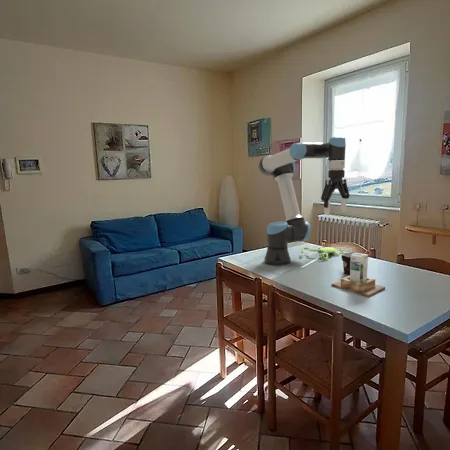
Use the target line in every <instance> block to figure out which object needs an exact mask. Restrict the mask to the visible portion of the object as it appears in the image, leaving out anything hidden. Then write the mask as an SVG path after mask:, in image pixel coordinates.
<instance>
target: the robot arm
mask: <svg viewBox="0 0 450 450" xmlns="http://www.w3.org/2000/svg"><path fill="white" fill-rule="evenodd" d="M328 139H329V140H328V142H294V143H292V144H291V145H290V147H289V148H287V149H284V150H282V151H280V152H277V153H274V154H273V155H271V154H270V155H266V156H264V157H261V158H260V159H259V161H258V166H257V167H258V170H259V172H260V173H261V174H262V175H265V176H271V177H273V178H274V181H276V182H277V185H278V189H279V193H280V198H281V202H282V206H283V211H284V215H285V221H284V220H281V221H280V220H279V221H273V222H270V223H268V225H267V228H266V229H267V230H266V233H267V237H266V239H267V241H266V242H267V243H266V244H267V247H266V248H267V249H266V252H265V255H264V263H265V264H268V265H271V266H286V265H289V264H290V263H291V262H292V261H291V256H290V252H289V250H288V249H289V248H288V247H289V246H288V245H289V244H291V243H301V242H304V241H307V240H308V239H309V238H310V235H311V233H312V232H311V230H312V229H311V224H310V223H309V222H308V221H306V220H305V217H304V216H302V215H301V212H300V207H299V204H298V200H297V195H296V192H295V191H296V190H295V187H294V184H293V183H294V182H293V176H294V173H295V171H296V169H295V168H296V163H295V162H298V161H300V160H303V159H325V158H326V159H328V175H327V176H328V178H329V179H325V183H324V184H325V185H324V187H323V191H322V195H321V196H320V199H321V201H323V208H324V209H323V214H324V215H330V214H331V200H330V199H331V197H332V195H333V193H334V192H335V190H338V192H339V194H340V196H341V198H340V212H347V199H349V198H350V193H349V187H348V184H347V179H346V178H345V171H346V170H345V165H346V147H347V145H346V137H345V136H332V137H329V138H328Z"/></svg>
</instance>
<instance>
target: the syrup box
mask: <svg viewBox="0 0 450 450" xmlns="http://www.w3.org/2000/svg"><path fill="white" fill-rule="evenodd" d="M352 253H353V254H352V255H351V262H350V275H349V276H350V280H352V281H355V282H359V283H363V282H365V281H367V277H368V262H369V254H366V253H359V252H352Z"/></svg>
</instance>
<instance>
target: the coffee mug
mask: <svg viewBox="0 0 450 450" xmlns="http://www.w3.org/2000/svg"><path fill="white" fill-rule="evenodd" d="M353 253H354V252H345V253H342V254H341V260H342V267H343V274H344V275H345V276H346V275H347V276H350V262H351V255H352V254H353Z"/></svg>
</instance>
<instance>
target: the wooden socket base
mask: <svg viewBox="0 0 450 450" xmlns="http://www.w3.org/2000/svg"><path fill="white" fill-rule="evenodd" d="M330 286H331V287H334V288H337V289H340V290H343V291H348V292H351V293H354V294H356V295H360V296H363V297H366V298H370V297H371V296H373V295H376V294H377V293H380V292H382V291H384V290H386V286H383V285H380V284H376V279H375V278H372V277H368V276H367V281H365V282H363V283H359V282H355V281H352V280H350V275H347V276H345V277H342V278H340V280H338V281H334V282H332V283H331V285H330Z"/></svg>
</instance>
